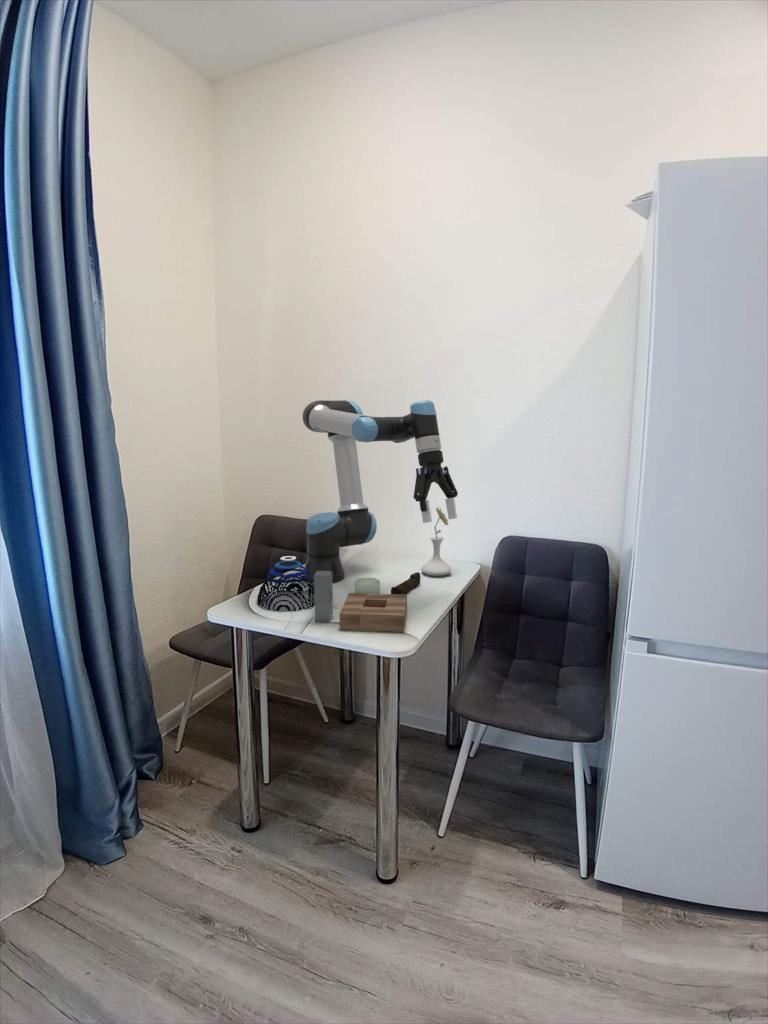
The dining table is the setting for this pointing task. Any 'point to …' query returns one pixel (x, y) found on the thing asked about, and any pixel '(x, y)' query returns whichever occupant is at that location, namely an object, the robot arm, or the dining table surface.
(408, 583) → the hand tool
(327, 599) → the square bar
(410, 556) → the dining table surface
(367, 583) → the round stub
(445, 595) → the dining table surface
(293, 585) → the decorative bowl
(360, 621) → the socket block
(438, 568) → the flower in vase
